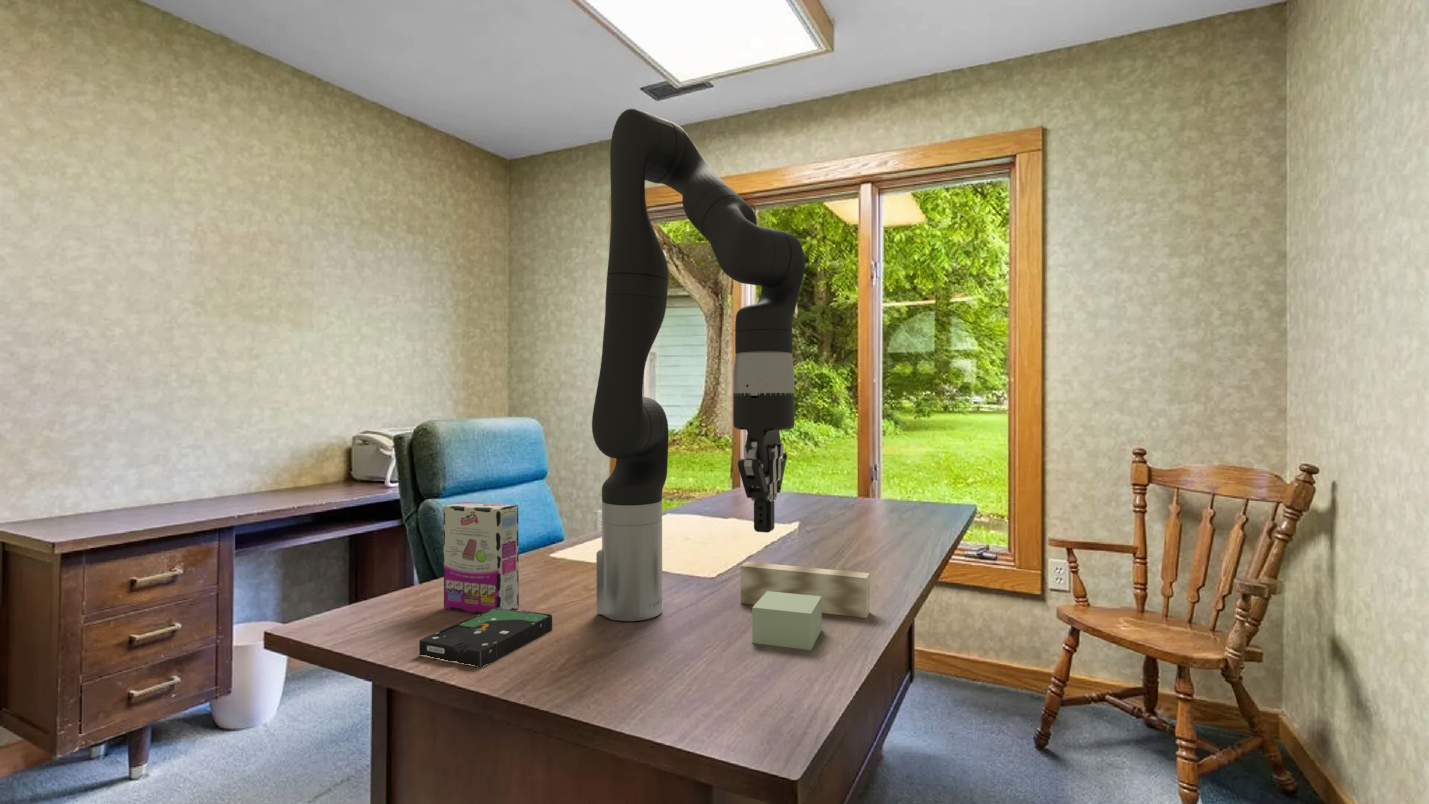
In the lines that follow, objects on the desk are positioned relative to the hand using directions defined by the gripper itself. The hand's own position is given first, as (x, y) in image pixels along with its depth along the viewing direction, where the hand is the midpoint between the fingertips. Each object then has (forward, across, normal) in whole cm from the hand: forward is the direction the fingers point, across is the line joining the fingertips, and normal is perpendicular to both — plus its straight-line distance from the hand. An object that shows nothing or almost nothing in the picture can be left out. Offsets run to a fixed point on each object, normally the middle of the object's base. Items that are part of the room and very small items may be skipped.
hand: (764, 531), depth 82 cm
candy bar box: (+17, -5, -48) cm, 51 cm away
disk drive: (+17, +6, -37) cm, 41 cm away
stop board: (+17, -24, -1) cm, 29 cm away
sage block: (+17, -11, 0) cm, 20 cm away
